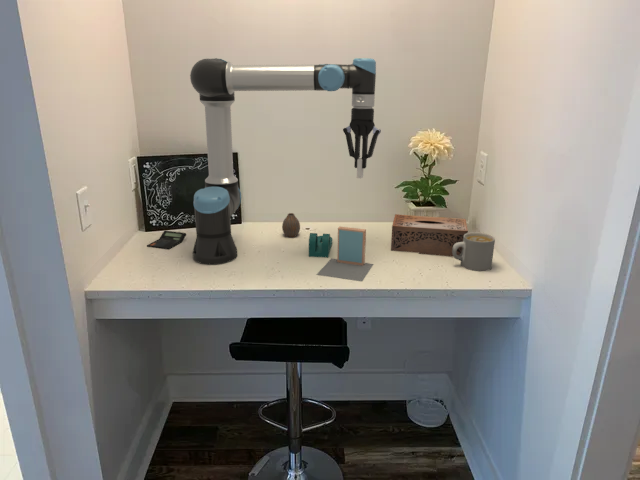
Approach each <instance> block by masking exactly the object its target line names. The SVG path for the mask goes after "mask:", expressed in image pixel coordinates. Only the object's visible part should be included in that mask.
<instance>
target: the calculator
mask: <svg viewBox="0 0 640 480" xmlns="http://www.w3.org/2000/svg"><path fill="white" fill-rule="evenodd" d="M186 237H187V233H186V232H180V231H171V230H170V231H169V230H164V231H163V232H162V234H161V235H160V236H159V238H158V239H156V240H155V241H153V242H152V241H151V243H149V244H147V245H146V247H148V248H154V249H162V250H168V251H169V250H171V249H173V248H175V247H177V246H178V245H179V244H182V242H183V241H184V239H185V238H186Z"/></svg>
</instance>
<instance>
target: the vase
mask: <svg viewBox="0 0 640 480" xmlns="http://www.w3.org/2000/svg"><path fill="white" fill-rule="evenodd" d="M281 227H282V228H281V229H282V233H283V234H284V235H285V236H286V237H288V238H295V237H297V236H298V235H299V233H300V231H301V224H300V220H299V219H298V218H297V217H296V214H295V213H293V212H289V213H287V216H286V217H285V218H284V220H283V222H282V225H281Z"/></svg>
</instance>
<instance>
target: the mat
mask: <svg viewBox="0 0 640 480" xmlns="http://www.w3.org/2000/svg"><path fill="white" fill-rule="evenodd" d="M374 265H375V264H374V263H369V262H365V264H364V265H355V264H348V263H341V262H337V258H333V257H330V259H329V260H328V261H327V262H326V263H325V265H323V267H322V268H321V269H320V270H319V271H318V272H317V273H316V275H317V276H320V277H321V276H322V277H329V278H334V279H335V278H336V279H341V280H342V279H343V280H350V281H356V282H363V281H364V280H365V278H366V277H367V275H368V274H369V272H370V271H371V269H372V268H373V266H374Z"/></svg>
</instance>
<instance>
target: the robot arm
mask: <svg viewBox="0 0 640 480" xmlns="http://www.w3.org/2000/svg"><path fill="white" fill-rule="evenodd" d="M232 63H233V62H230V61H226V60H224V59H222V58H217V57H216V58H215V57H214V58H202V59H200V60H198V61H197V62H196V63H194V65H193V66H192V67H191V70H190V74H189V79H190V84H191V85H192V88H193V89H194V90H195V91H196V92H197V93H198V95H199V102H200V103H201V104H202V105H203V106H204V114H205V115H204V117H205V133H206V147H207V148H206V149H207V163H208V176H207V177H206V178H205V179H204V188H200V189H198V190H197V191H195V193H194V195H193V208H194V210H193V211H194V222H195V231H196V232H195V234H196V238H195V242H194V246H193V249H192V259H193V261H194V262H196V263H199V264H202V265H220V264H221V265H222V264H225V263H229V262H233V261H235V259H236V258H238V248H237V245H236V243H235V240H234V237H233V235H232V227H231V225H232V222H231V217H232V215H233V214H234V213H235V212H236V211H237V210H238V209H239V207H240V206H241V203H242V192H241V189H240V187H239V179H238V178H237V177H236V176H235V174H234V161H233V159H234V158H233V155H234V154H233V136H232V135H233V134H232V113H231V111H232V110H231V106H232V105H233V104H234V103H235V98H236V97H235V92H255V91H256V92H267V91H272V92H274V91H275V92H277V91H278V92H279V91H283V92H284V91H290V92H291V91H295V92H296V91H320V92H321V91H323V92H324V91H325V92H326V91H327V92H336V91H338V90H340V89H347V90H348V89H351V106H352V108H351V109H350V113H351V115H350V117H351V118H350V122H349V125H348V126H346V127H344V128H342V131H343V133H344V135H345V139H346V144H347V150H348V153H349V155H348V156H349V157H352V158H354V168H355V169H356V178H357V179H363V178H364V169H366V168H367V160H368V159H370V158H371V157H373V155H374V150H375V147H376V143H377V141H378V137H379V135H380V134H381V128H379V129H378V128H377V127H376V125H375V122H374V121H375V119H374V117H375V116H374V115H375V109H374V108H373V107H375V98H376V97H375V95H376V94H375V92H376V78H377V61H376V60H375V58H368V57H367V58H366V57H363V58H357V57H354V59H353V60H352V63H351V64H337V63H335V64H331V63H322V64H321V63H320V64H236V65H235V64H232ZM351 132H353V134H354V143H353V137H352V133H351ZM371 132H372V134H373V135H372V137H371V141H370V145H369V147H368V143H369V140H368V139H369V135H370V134H371ZM361 139H362V144H361ZM361 145H362V146H361Z"/></svg>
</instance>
